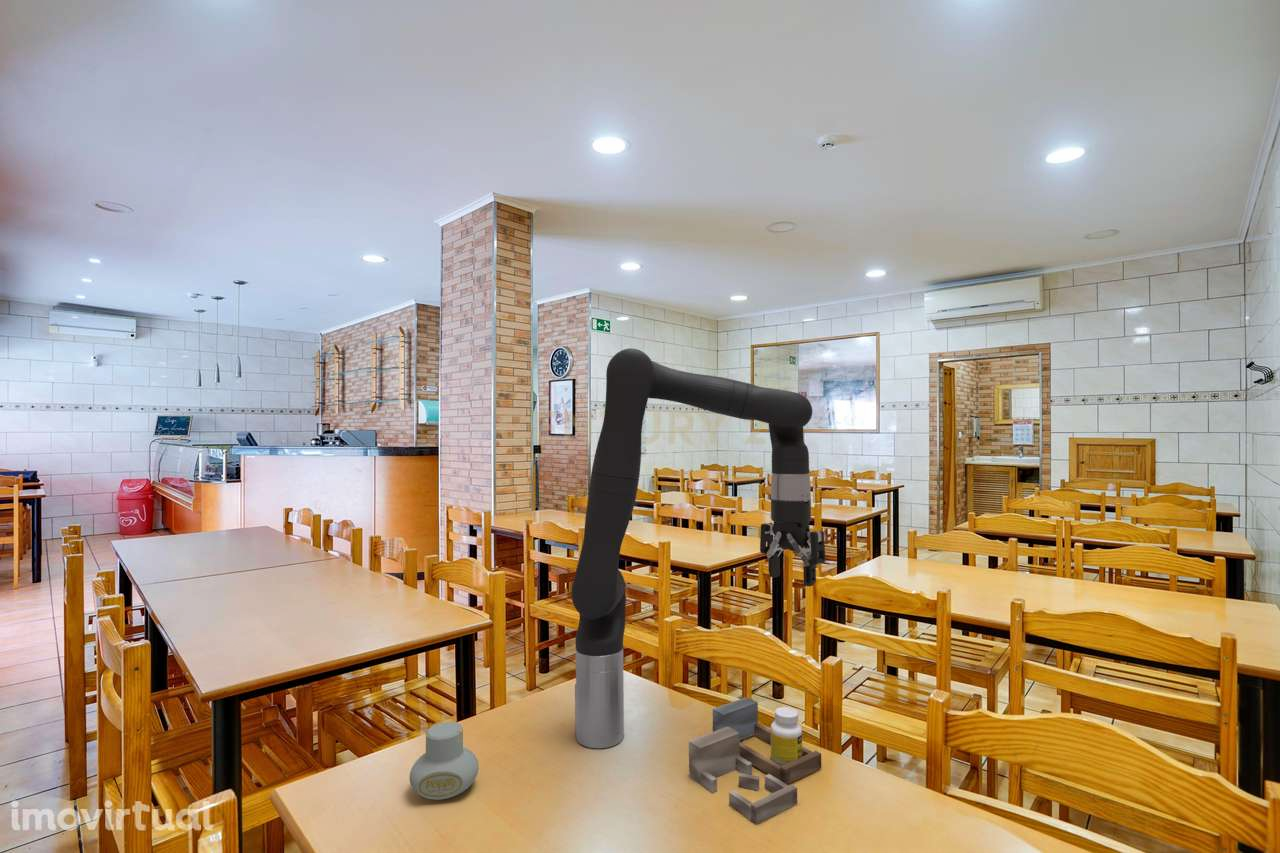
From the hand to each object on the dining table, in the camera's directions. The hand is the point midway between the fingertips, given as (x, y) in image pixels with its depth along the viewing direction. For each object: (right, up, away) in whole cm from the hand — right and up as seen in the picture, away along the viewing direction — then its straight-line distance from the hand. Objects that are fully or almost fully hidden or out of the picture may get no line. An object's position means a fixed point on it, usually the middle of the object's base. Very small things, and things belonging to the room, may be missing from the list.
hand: (791, 581), depth 118 cm
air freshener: (-62, -31, -16) cm, 71 cm away
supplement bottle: (-4, -30, -11) cm, 32 cm away
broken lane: (-13, -30, -17) cm, 37 cm away
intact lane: (-7, -30, -6) cm, 31 cm away
